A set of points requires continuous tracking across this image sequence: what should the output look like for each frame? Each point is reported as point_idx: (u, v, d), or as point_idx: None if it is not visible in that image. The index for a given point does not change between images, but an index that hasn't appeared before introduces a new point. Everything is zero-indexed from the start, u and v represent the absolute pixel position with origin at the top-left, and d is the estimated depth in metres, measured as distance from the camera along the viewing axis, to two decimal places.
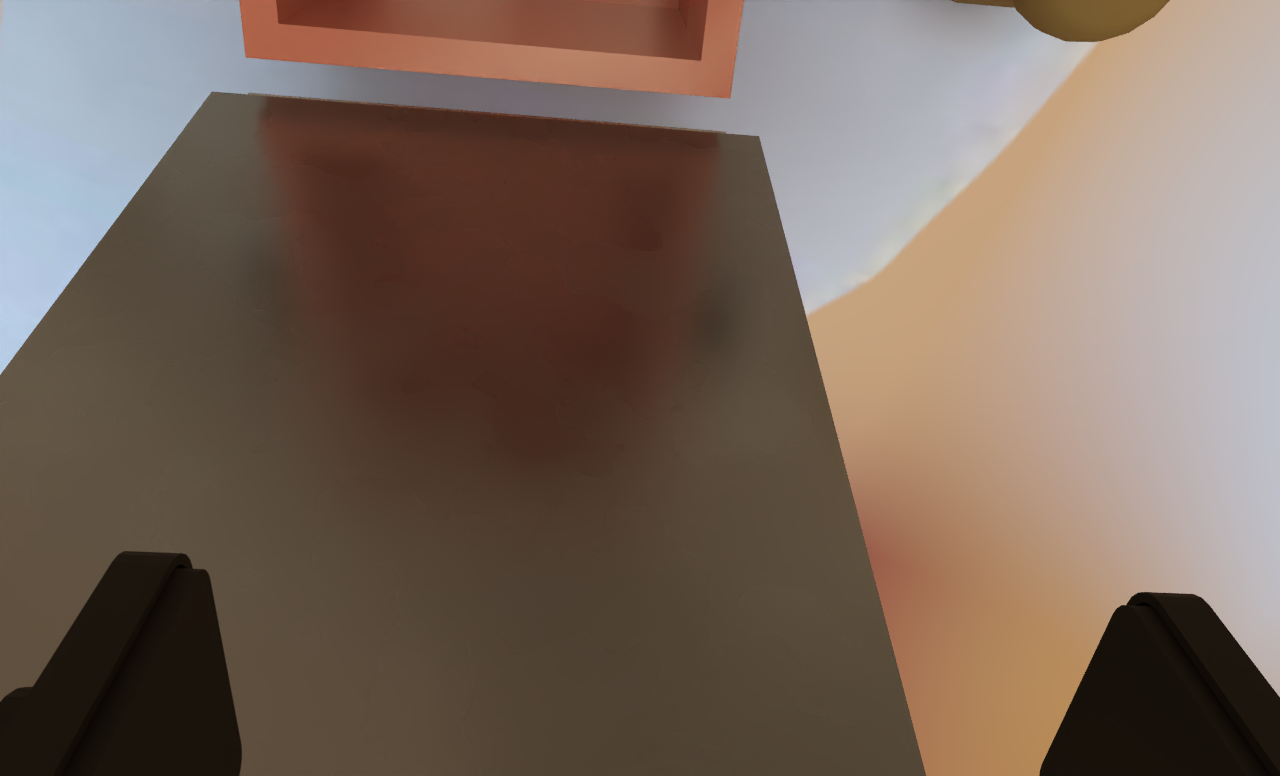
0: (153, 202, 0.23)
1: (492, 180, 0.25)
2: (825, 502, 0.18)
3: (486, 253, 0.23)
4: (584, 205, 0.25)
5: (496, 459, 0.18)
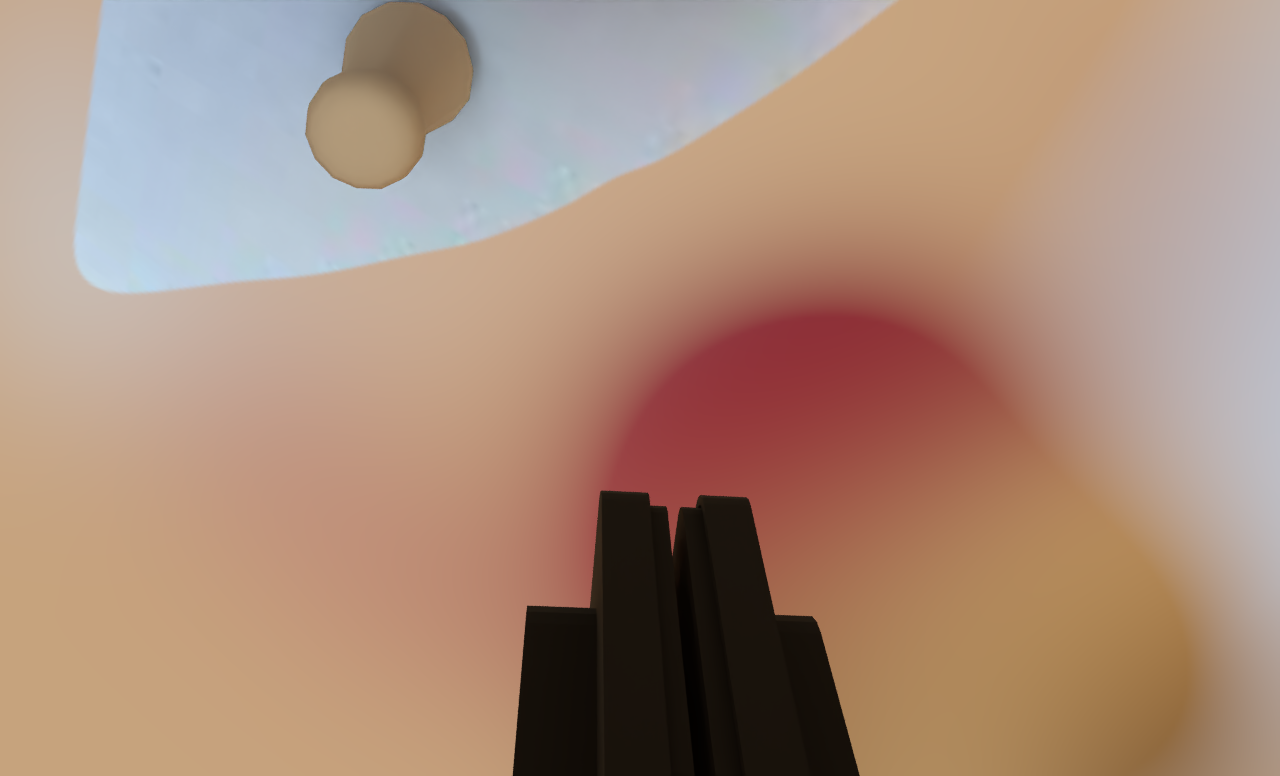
0: None
1: None
2: None
3: None
4: None
5: None
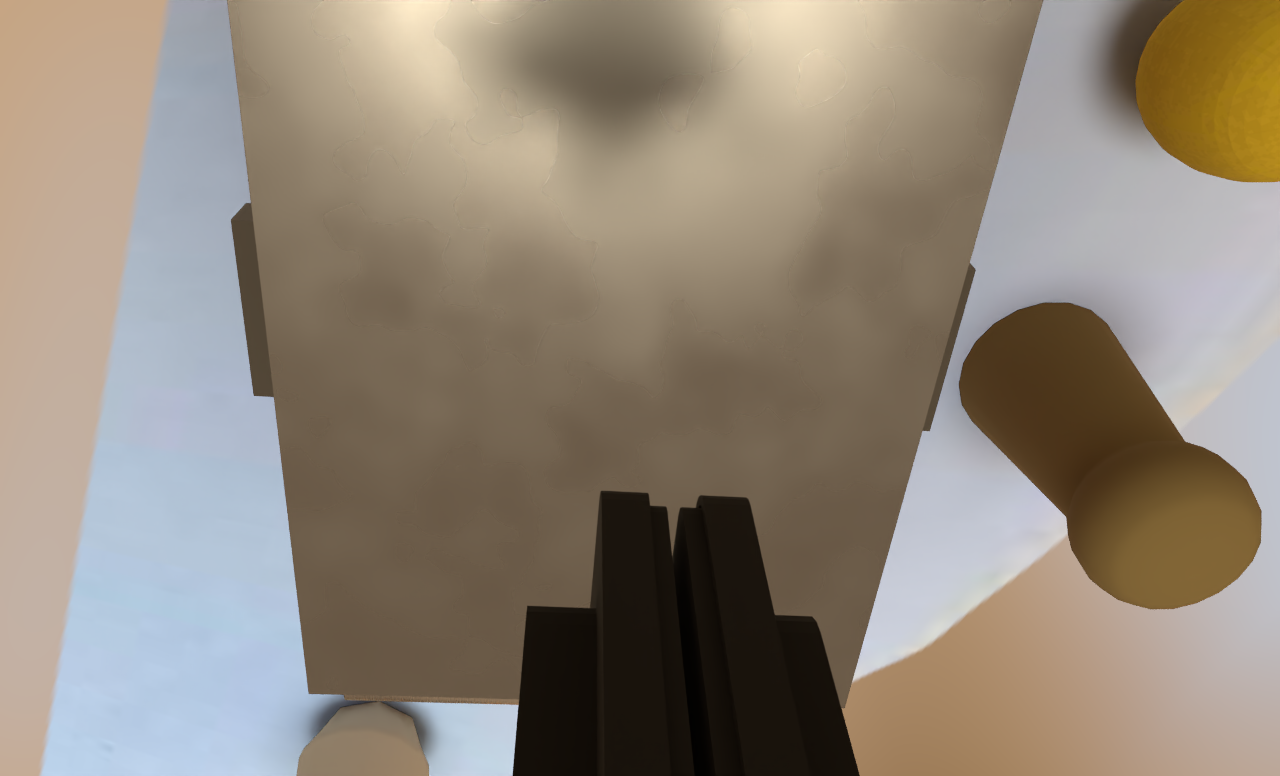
0: None
1: None
2: None
3: None
4: None
5: None
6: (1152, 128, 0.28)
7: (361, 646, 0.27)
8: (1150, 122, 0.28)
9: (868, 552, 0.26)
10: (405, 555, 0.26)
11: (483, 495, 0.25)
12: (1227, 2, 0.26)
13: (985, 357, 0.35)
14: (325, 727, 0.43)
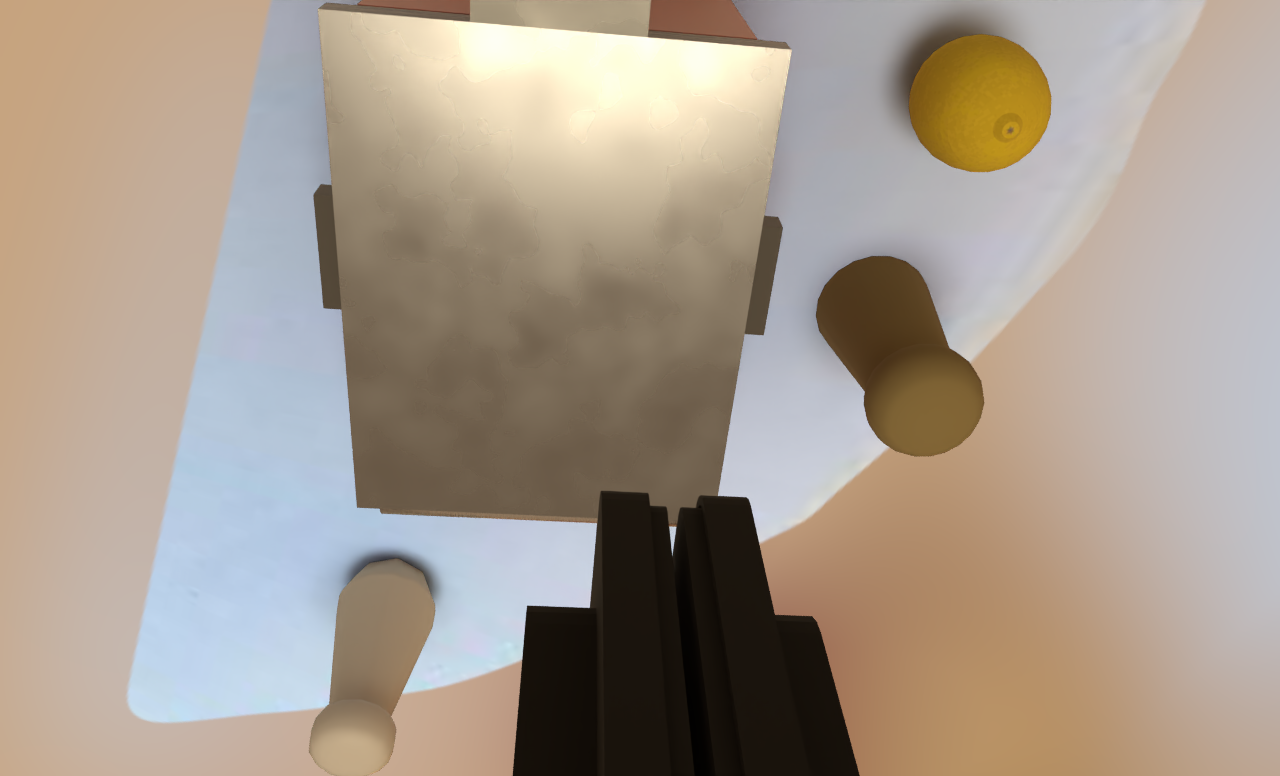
0: None
1: None
2: None
3: None
4: None
5: None
6: (917, 135, 0.43)
7: (392, 473, 0.42)
8: (915, 131, 0.43)
9: (719, 410, 0.41)
10: (421, 410, 0.40)
11: (470, 369, 0.39)
12: (950, 55, 0.40)
13: (830, 295, 0.50)
14: (358, 574, 0.57)
